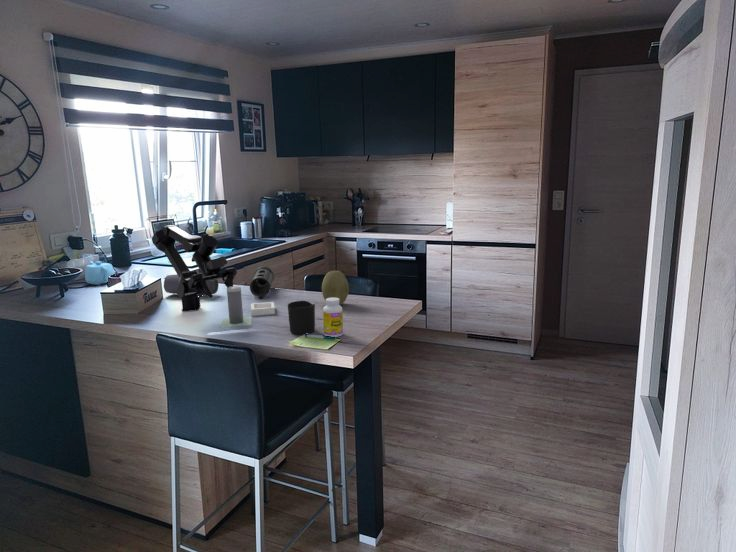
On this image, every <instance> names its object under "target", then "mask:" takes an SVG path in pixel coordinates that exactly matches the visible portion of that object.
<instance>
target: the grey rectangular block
mask: <svg viewBox="0 0 736 552" xmlns="http://www.w3.org/2000/svg"><path fill="white" fill-rule="evenodd" d="M226 296H227V309H228V318H229V322H230V323H231V324H238V323H242V322H243V317H244V311H243V310H244V309H243V298H242V287H241V286H237V285H233V286H232V287H228V288H227V287H226Z"/></svg>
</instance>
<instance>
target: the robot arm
mask: <svg viewBox="0 0 736 552" xmlns="http://www.w3.org/2000/svg"><path fill="white" fill-rule="evenodd" d="M176 241H177V242H178V243H179V244H181V245H182V249H183V250H185V252H187V253H189V254H190V253H193V254H192V258H191V262H192V263H193V262H195V264H196V266H197V268H198V270H197V271H198V272H197V271H196V270H190V269H189V267H188V266H187V263H185V261H184V259H183V257H182V255H181V254H180V252H179V251H178V249H177V248H176V246H175V245H176ZM151 242H152V245H154V247H155V248H156V249H157V250H158V251H160V252H162V253H164V254H165V256H166V258H167V259H168V261H169V263H170V264H171V266H172V268H173V269H174V271H175V272H176V275H178V276H179V287H178V289H177V290H176V292H177V294H176V295H177V296H178V297H181V307H182V308H181V312H191V311H192V312H193V311H199V309H200V308H201V297H198V294H201V293H203V294H205V295H204V296H206V297H208V298H209V299H213V294H211V292H210V290H209V288H208V286H207V285H206V281H211V280H216V279H217V280H222V281H223V284H224V285H225V287H226V289H227V288H228V287H232V286H234V279H235V277H236V275H237V274H238V271H237V268H235V267H229V268H224V267H225V265H227V264H228V260H227V258H226V257H225V256H224V255H223V256H219V257H218V258H214V259H212V258H211V256H212V255H213V253H214V252H215V250H216V249H217V246H218V243H219V242H218V239H217V238H215V237H214V236H212V235H209V233H203V234H202V236H201V235H196V234H195V235H194V234H192V235H191V234H190V233H188V232H186V231H184V230H183V229H182V228H180V227H178V226H177V224H176V225H175V224H169V225H165V226H163V227H162V229H159V230H158V231H156V232H155V233H154V234H153V235H152V236H151ZM222 268H224V271H223V272H221V271H222ZM220 272H221V273H220Z"/></svg>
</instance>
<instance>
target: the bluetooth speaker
mask: <svg viewBox="0 0 736 552" xmlns="http://www.w3.org/2000/svg"><path fill="white" fill-rule="evenodd" d="M218 280H219V279H216V280H211V281H206V285H207V286H208V288H209V290H210V292H211V294H212V295H216V293H217V292H218V291H219V281H218ZM178 287H179V276H178V275H177V274H168V275H166V276H165V277H164V281H163V289H164V291H165V292H166V293H167V294H174V295H177V292H176V290H177V289H178ZM202 295H203V296H206V295H205V294H203V293H201V294H198V296H202ZM203 296H202V297H203Z"/></svg>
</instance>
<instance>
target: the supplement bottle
mask: <svg viewBox="0 0 736 552" xmlns="http://www.w3.org/2000/svg"><path fill="white" fill-rule="evenodd" d="M325 304H326V305H325V306H323V309H322V315H323V316H322V317H323V336H325V337H326V336H331V337H335V338H340V337H341V336H343V333H344V327H343V325H344V324H343V323H344V319H343V318H344V317H343V316H344V315H343V307H342V306H341V305H339V298H335V297H332V298H327V299H326V301H325ZM339 336H340V337H339Z"/></svg>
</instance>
